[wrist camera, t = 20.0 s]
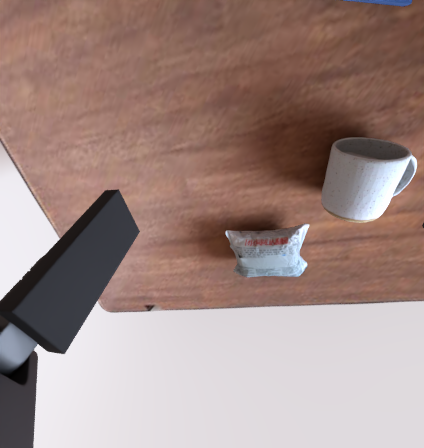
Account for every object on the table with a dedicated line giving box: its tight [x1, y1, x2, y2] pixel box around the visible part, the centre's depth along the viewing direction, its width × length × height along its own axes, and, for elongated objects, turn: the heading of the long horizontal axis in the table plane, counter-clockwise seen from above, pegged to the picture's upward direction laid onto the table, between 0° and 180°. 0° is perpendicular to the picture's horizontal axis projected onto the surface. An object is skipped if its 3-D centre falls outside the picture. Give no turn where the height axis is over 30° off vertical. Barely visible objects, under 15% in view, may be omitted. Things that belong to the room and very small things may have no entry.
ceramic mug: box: [322, 137, 417, 222], centre depth 29 cm, size 11×8×8 cm
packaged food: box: [226, 224, 309, 277], centre depth 39 cm, size 9×12×5 cm
